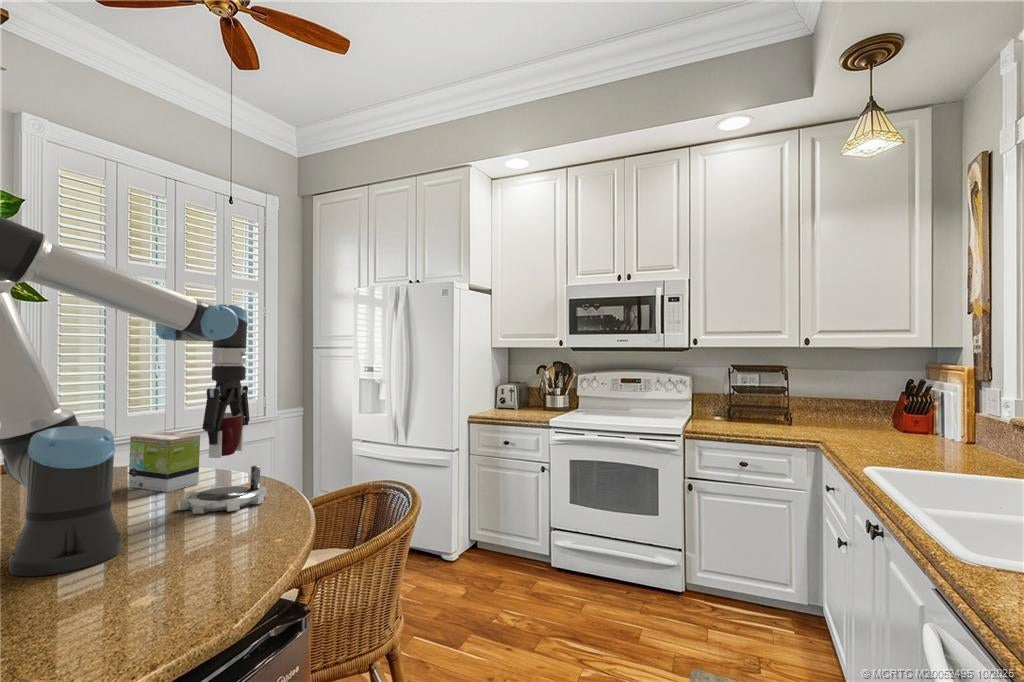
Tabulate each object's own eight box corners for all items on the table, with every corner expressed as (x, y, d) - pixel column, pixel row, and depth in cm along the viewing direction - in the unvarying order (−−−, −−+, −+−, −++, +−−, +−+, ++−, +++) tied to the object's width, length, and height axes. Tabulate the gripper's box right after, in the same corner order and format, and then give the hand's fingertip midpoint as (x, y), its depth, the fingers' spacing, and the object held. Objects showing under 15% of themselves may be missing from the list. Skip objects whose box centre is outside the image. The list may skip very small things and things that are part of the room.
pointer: (250, 492, 134) (250, 483, 134) (245, 492, 134) (246, 483, 134) (253, 490, 135) (253, 481, 135) (249, 490, 135) (249, 481, 135)
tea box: (126, 488, 136) (128, 435, 137) (161, 480, 146) (163, 430, 146) (166, 493, 132) (168, 438, 133) (200, 484, 142) (201, 433, 142)
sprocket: (175, 518, 110) (177, 483, 110) (180, 497, 126) (181, 466, 127) (270, 506, 120) (271, 473, 120) (263, 488, 137) (264, 459, 137)
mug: (251, 456, 123) (250, 417, 123) (215, 462, 117) (214, 421, 117) (237, 448, 130) (236, 411, 130) (202, 454, 125) (202, 415, 124)
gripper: (217, 365, 114) (214, 463, 113) (265, 364, 135) (263, 446, 134) (186, 365, 114) (182, 462, 113) (239, 364, 135) (236, 446, 135)
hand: (226, 453), depth 124 cm, fingers closed on mug, 8 cm apart
